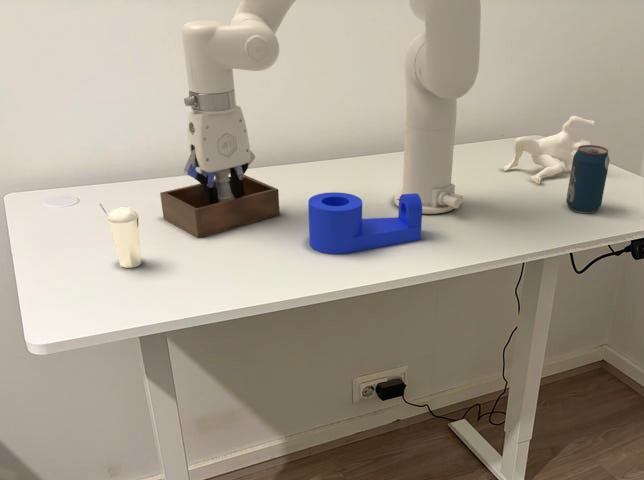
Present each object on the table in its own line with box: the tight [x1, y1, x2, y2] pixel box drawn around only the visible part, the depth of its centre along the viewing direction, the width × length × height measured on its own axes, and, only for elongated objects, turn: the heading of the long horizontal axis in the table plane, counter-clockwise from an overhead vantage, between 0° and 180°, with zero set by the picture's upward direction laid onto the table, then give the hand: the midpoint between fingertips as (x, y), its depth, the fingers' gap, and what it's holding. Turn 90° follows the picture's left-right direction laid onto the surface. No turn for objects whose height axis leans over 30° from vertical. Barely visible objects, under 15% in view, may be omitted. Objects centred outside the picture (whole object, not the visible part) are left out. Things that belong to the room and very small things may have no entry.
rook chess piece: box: [214, 169, 235, 202], centre depth 133 cm, size 4×4×8 cm
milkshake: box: [99, 203, 142, 269], centre depth 114 cm, size 4×5×10 cm
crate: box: [159, 174, 281, 239], centre depth 135 cm, size 18×12×5 cm, turn 135°
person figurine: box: [503, 115, 596, 185], centre depth 165 cm, size 13×13×18 cm
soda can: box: [565, 144, 610, 214], centre depth 145 cm, size 7×7×12 cm
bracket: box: [307, 191, 423, 255], centre depth 127 cm, size 20×9×8 cm, turn 111°
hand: (224, 202), depth 135 cm, fingers closed on rook chess piece, 4 cm apart
